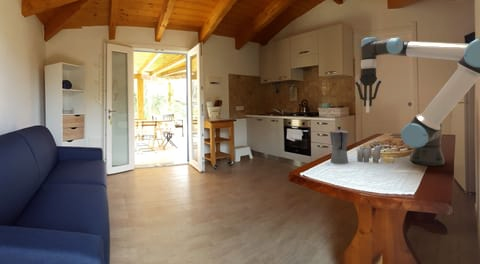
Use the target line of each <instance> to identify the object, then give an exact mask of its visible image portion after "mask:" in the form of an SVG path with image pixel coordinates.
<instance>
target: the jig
mask: <svg viewBox="0 0 480 264" xmlns="http://www.w3.org/2000/svg"><path fill="white" fill-rule="evenodd" d="M356 153H357V154H356V155H357V157H356V158H357V159H356V162H359V163H371V164H373V163H374V164H380V163H381V161H382V157H381V147H380V146H375V147H374V150H373V151H372V146H363V145H361V146H359V149H357V152H356Z"/></svg>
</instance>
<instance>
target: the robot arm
mask: <svg viewBox="0 0 480 264" xmlns="http://www.w3.org/2000/svg"><path fill="white" fill-rule="evenodd" d="M386 55H390V56H398V57H413V58H423V59H424V58H425V59H437V60H447V61H449V60H451V61H458V62H457V63H456V64H457V69H456V70H455V71H454V73H453V74H452V75H451V77H450V78H449V79H448V81H447V82H445V84H444V85H443V87H442V88H441V89H440V90H439V91H438V93H437V94H436V95H435V97H434V98H433V99H432V100H431V102H430V103H429V104H428V106H427V107H426V108H425V109H424V111H422V113H418V114H415V116H414V117H413V118H412V120H411V121H410V122H409V123H408V124H406V125H405V126H404V127H402V129H401V131H400V138H401V141H402V142H403V144H405V145H406V146H408V147H410V148H412V151H411V153H410V155H409V161H410V162H411V163H413V165H414V164H415V165H420V166H429V167H430V166H431V167H432V166H433V167H437V166H443V165H445V157H444V154H443V152H442V134H443V133H442V130H443V129H442V128H443V123H442V122H443V121H444V120H445V119H446V117H447V116H448V115H449V114H450V113H451V112H452V110H453V109H454V108H455V107H456V106H457V104H458V103H460V101H461V100H462V99H463V97H465V95H466V94H467V93H468V92H469V91H470V89H471V88H472V87H473V86H474V85H475V84H476V83H477V82H478V80H479V79H480V37H479V38H476V39H474V40H473V41H470V42H469V43H457V42H456V43H455V42H435V41H433V42H432V41H411V40H402V38H401V37H391V38H385V39H380V40H379V39H377V37H375V36H371V37H364V38H363V39H361V43H360V57H361V59H360V68H361V69H360V78H359V80H358V81H355V83H354V84H355V85H356V87H357V90H358V95H359V98H360V100H362V101H363V107H365V114H366V113H367V114H369V113H370V109H371V108H370V107H372V106H373V100H375V99H376V97H377V95H378V92H379V91H378V90H379V88H380V85H381V84H382V80H379V78H378V77H377V68H376V67H377V56H378V57H379V56H386ZM375 83H376V85H375V89H374V92H373V85H374V84H375ZM361 84H362V85H363V91H362V87H361ZM368 88H369V89H368ZM367 99H368V100H367Z"/></svg>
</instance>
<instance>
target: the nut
mask: <svg viewBox="0 0 480 264" xmlns="http://www.w3.org/2000/svg"><path fill="white" fill-rule="evenodd" d="M382 162H383V163H394V157H392V156H383V158H382Z"/></svg>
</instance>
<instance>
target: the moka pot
mask: <svg viewBox="0 0 480 264" xmlns="http://www.w3.org/2000/svg"><path fill="white" fill-rule="evenodd" d="M329 134H330V135H329V136H330V143H331V147H332V150H331V157H330V162H331V164H335V165H337V164H338V165H345V164H348V163H349V159H348V151H347V146H348V142H349V141H348V139H349V131H347V130H343V129H342V127H341V126H338V127H337V129H335V130H332V131H329Z"/></svg>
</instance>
